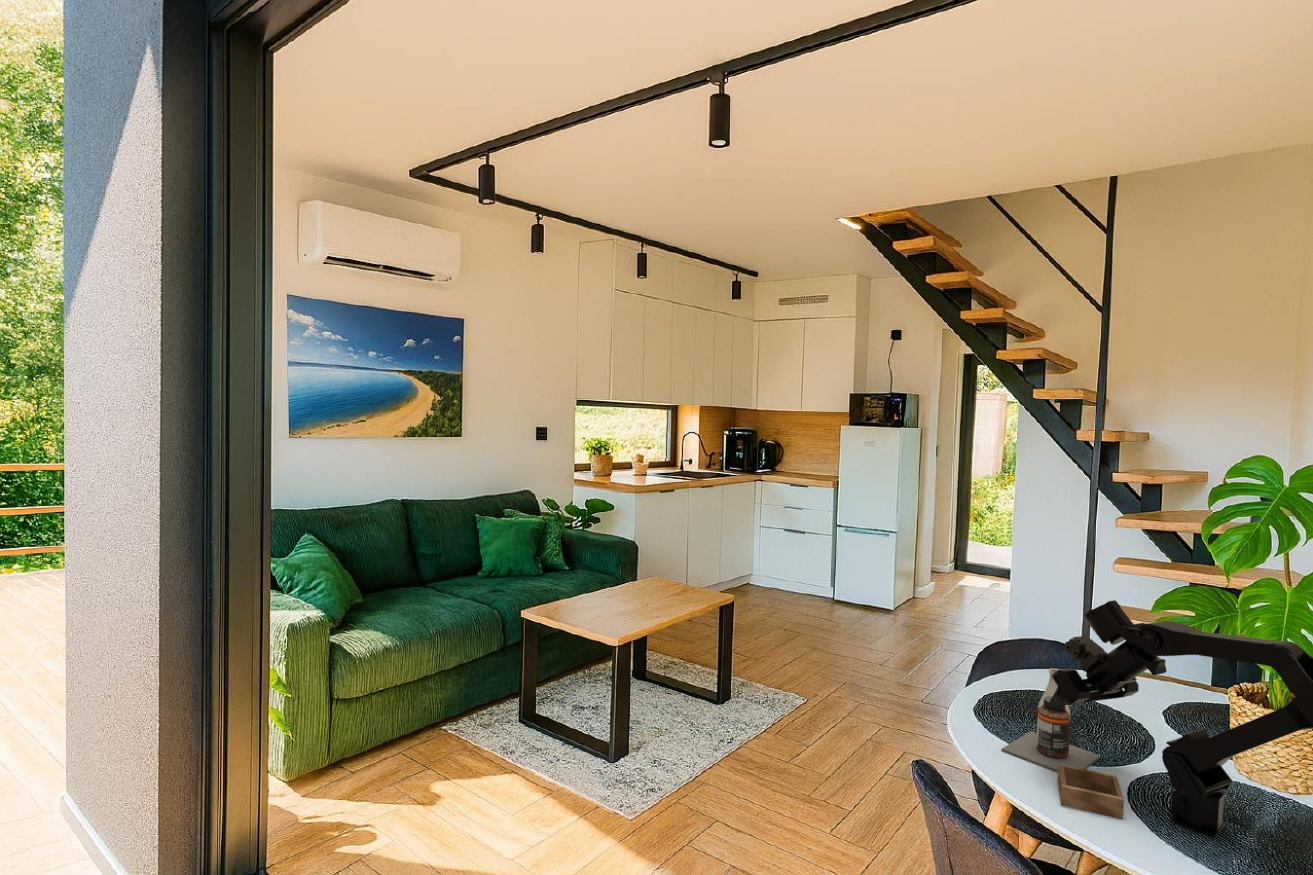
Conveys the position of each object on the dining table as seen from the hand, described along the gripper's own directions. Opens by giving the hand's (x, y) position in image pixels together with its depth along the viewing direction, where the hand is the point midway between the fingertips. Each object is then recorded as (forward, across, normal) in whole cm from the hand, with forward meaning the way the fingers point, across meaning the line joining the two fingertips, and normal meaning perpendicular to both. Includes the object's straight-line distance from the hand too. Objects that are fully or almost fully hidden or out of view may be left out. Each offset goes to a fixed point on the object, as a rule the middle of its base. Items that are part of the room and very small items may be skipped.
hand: (1067, 701), depth 150 cm
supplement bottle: (+10, 0, +6) cm, 12 cm away
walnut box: (+1, +9, +18) cm, 20 cm away
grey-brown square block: (+11, 0, +6) cm, 13 cm away
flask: (+21, -21, -5) cm, 30 cm away
